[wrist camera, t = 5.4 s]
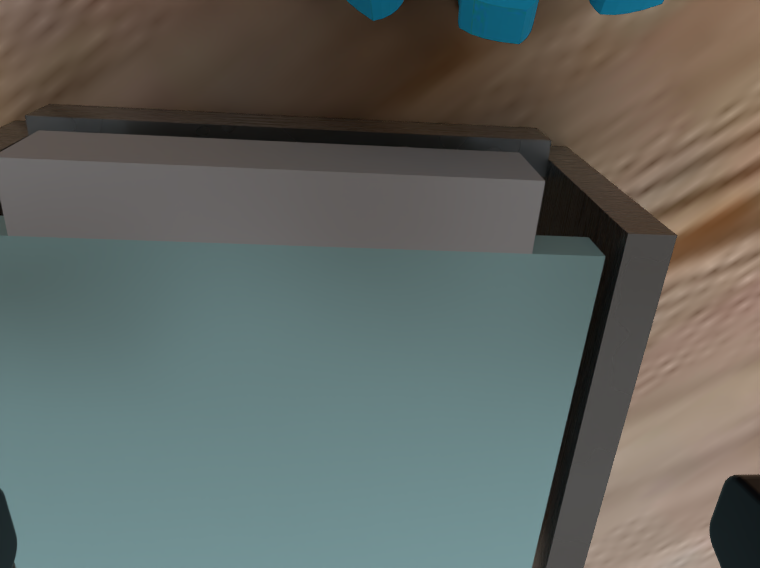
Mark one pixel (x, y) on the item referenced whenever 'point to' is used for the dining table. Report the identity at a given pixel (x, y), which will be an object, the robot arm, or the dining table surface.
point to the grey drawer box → (556, 218)
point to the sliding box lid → (281, 353)
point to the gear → (500, 14)
